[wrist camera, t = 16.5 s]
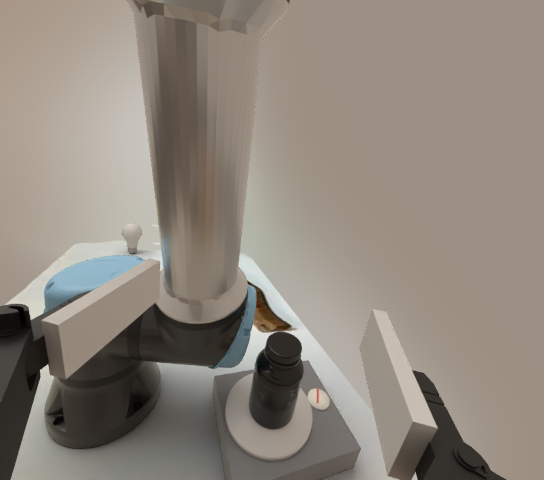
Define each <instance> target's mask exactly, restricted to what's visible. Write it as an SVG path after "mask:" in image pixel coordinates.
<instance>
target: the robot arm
mask: <svg viewBox="0 0 544 480" xmlns="http://www.w3.org/2000/svg"><path fill="white" fill-rule="evenodd" d="M127 1H128V3H129V5H130V7H131V9H132V11H133V12H134V20H135V29H136V38H137V46H138V55H139V63H140V71H141V80H142V88H143V96H144V105H145V114H146V122H147V131H148V139H149V147H150V156H151V165H152V173H153V181H154V190H155V199H156V207H157V216H158V224H159V232H160V241H161V249H162V258H163V266H164V269H163V270H162V271H161V272H160V261H158V260H153V259H147V260H143V259H142V258H140V257H136V256H130V255H115V256H105V257H100V258H94V259H91V260H86V261H83V262H80V263H77V264H74V265H72V266H70V267H67V268H65V269H63V270H62V271H60V272H59V273H57V274H56V275H54V276H53V277H52V278H51V279H50V280H49V282H48V283H47V285H46V287H45V291H44V296H45V309H44V313H43V314H42V315H40V316H38V317H36V318H34V319H33V320H31V319H30V314H29V308H28V307H27V306H26V305H22V304H9V305H4V306H0V480H10V479H11V476H12V472H13V469H14V466H15V462H16V459H17V455H18V452H19V448H20V445H21V442H22V438H23V435H24V431H25V428H26V425H27V421H28V418H29V414H30V411H31V407H32V404H33V401H34V397H35V394H36V390H37V387H38V383H39V380H40V370H41V369H42V368H43V367H45V366H46V365H47V364H48V365H49V371H50V375H53V376H55V377H54V380H53V383H52V386H51V389H50V392H49V395H48V398H47V401H46V404H45V421H46V427H47V430H48V433H49V435H50V436H51V437H52V439H53V440H54V441H56V442H57V443H59V444H61V445H63V446H66V447H71V448H90V447H95V446H99V445H103V444H106V443H109V442H111V441H113V440H116V439H118V438H120V437H121V436H123V435H125V434H126V433H128V432H129V431H131V430H132V429H134V428H135V427H136V426H137V425H138V424H140V423H141V422H142V421H143V420H144V419H145V418H146V417H147V415H148V414H149V413H150V412H151V410H152V409H153V407H154V405H155V404H156V401H157V399H158V396H159V393H160V371H159V368H158V365H157V363H156V362H161V363H173V364H184V365H196V366H207V367H209V368H211V369H215V368H217V367H225V368H231V367H235V366H236V365H238V364H239V363H240V362H241V360H242V359H243V357H244V355H245V352H246V349H247V346H248V343H249V339H250V331H251V329H252V326H253V321H254V316H255V309H256V290H255V288H254V287H253V286H250V285H248V284H247V280H246V276H245V274H244V273H243V271H242V270H241V269H240V268H239V267H238V263H239V254H240V244H241V234H242V226H243V216H244V207H245V198H246V188H247V179H248V169H249V160H250V151H251V142H252V131H253V123H254V114H255V104H256V94H257V85H258V75H259V66H260V58H261V47H262V42H263V40H264V36H265V34H266V33H267V32H268V31H269V30H270V29H271V28H272V27H273V26H274V25H275V24H276V23H277V22H278V21H279V20H280V19H281V18H282V17H283V16H284V15H285V14H286V13H287V12H288V9H289V1H290V0H127ZM360 352H361V357H362V361H363V366H364V370H365V375H366V379H367V384H368V389H369V393H370V398H371V402H372V407H373V411H374V416H375V421H376V425H377V430H378V434H379V439H380V443H381V448H382V453H383V457H384V462H385V466H386V471H387V475H388V476H390V477H393V478H396V479H400V480H411V479H412V477H413V475H414V473H415V472H416V475H417V478H418V480H506V479H504V478H502V477H501V476H499V475H497V474H495V473H494V472H492V471H491V470H490V468H489V466H488V464H487V463H486V462H485V460H484V459H483V458H482V457H481V455H479V453H477V452H476V451H475V450H474V449H473V448H472V447H470V446H469V445H467V444H466V443H464V442H463V440H462V438H461V436H460V434H459V432H458V430H457V428H456V427H455V424H454V422H453V421H452V419H451V417H450V415H449V413H448V411H447V409H446V407H444V403H443V401H442V399H441V397H439V393H438V391H437V389H436V388H435V386H434V384H433V383H432V382H431V381H430V379H429V378H428V377H427V376H426V375H425V374H424V373H421V372H417V371H413V370H412V369H411V367H410V365H409V363H408V360H407V358H406V356H405V354H404V351H403V349H402V347H401V345H400V342H399V340H398V338H397V336H396V334H395V331H394V329H393V327H392V325H391V322H390V320H389V318H388V315H387V313H386V312H383V311H379V310H375V309H372V311H371V315H370V318H369V320H368V323H367V327H366V330H365V333H364V336H363V339H362V342H361V345H360Z"/></svg>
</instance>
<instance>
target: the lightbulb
mask: <svg viewBox="0 0 544 480" xmlns="http://www.w3.org/2000/svg"><path fill="white" fill-rule="evenodd" d="M122 235H123V237H124V239H125V240H126V242H127V247H128V252H129V253H131V254H133V253H135V252H136V251H137V244H138V240H139V238H140V237H141V235H142V230H141V228H140V227H139V226H138V225H137V224H134V223H130V224H127V225H125V226H124V227H123V229H122Z"/></svg>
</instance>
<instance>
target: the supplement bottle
mask: <svg viewBox="0 0 544 480" xmlns="http://www.w3.org/2000/svg"><path fill="white" fill-rule="evenodd" d="M301 351H302V346H301V343H300V341H299V340H298V339H297V337H295V336H294V335H292V334H289V333H286V332H275V333H273V334H271V335H270V336H269V338H268V339H267V342H266V346H265V349H263V350H262V351H261V352H260V353H259V354H258V356H257V358H256V362H255V368H254V373H253V379H252V385H251V391H250V397H249V411H250V414H251V416H252V418H253V419H254V421H255V422H256V423H257V424H259V425H260V426H262V427H264V428H266V429H271V430H276V429H280V428H283V427H285V426H286V425H287V424H288V423H289V422H290V421H291V419H292V417H293V414H294V410H295V406H296V403H297V399H298V395H299V391H300V387H301V383H302V379H303V375H304V366H303V362H302V360H301Z"/></svg>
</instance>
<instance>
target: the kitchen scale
mask: <svg viewBox="0 0 544 480" xmlns="http://www.w3.org/2000/svg"><path fill="white" fill-rule="evenodd" d="M302 362H303V366H304V375H303V379H302V383H301V387H300V391H299V395H298V399H297V403H296V406H295V410H294V414H293V417H292V419H291V421H290V422H289V423H288V424H287V425H286V426H285V427H283V428H280V429H276V430H271V429H266V428H264V427H262V426H260V425H259V424H257V423H256V422H255V421H254V419H253V418H252V416H251V414H250V411H249V397H250V391H251V385H252V379H253V373H254V370H249V371H243V372H237V373H231V374H225V375H220V376H214V385H213V400H214V407H215V414H216V420H217V427H218V434H219V440H220V447H221V454H222V461H223V467H224V474H225V480H320V479H323V478H326V477H328V476H331V475H334V474H336V473H339V472H342V471H344V470H347V469H350V468H352V467H354V465H355V462H356V460H357V457H358V454H359V452H360V449H361V448H360V446H359V444H358V443H357V441H356V439H355V438H354V436H353V434H352V433H351V431H350V429H349V428H348V426H347V424H346V423H345V421H344V419H343V418H342V416H341V414H340V413H339V411H338V409H337V408H336V406H335V404H334V403H333V401H332V399H331V398H330V396H329V394H328V393H327V391H326V389H325V388H324V386H323V384H322V383H321V381H320V379H319V378H318V376H317V374H316V373H315V371H314V369H313V368H312V366H311V364H310V363H309V361H302Z"/></svg>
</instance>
